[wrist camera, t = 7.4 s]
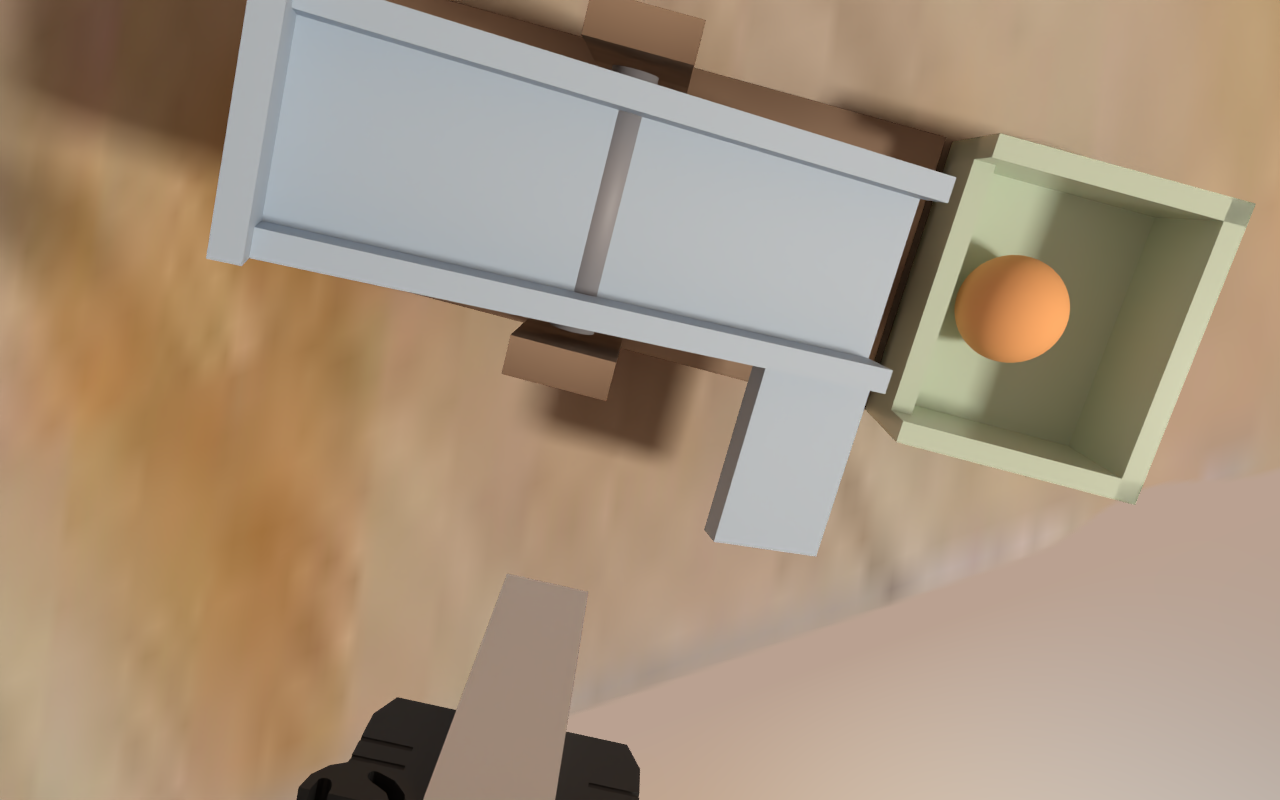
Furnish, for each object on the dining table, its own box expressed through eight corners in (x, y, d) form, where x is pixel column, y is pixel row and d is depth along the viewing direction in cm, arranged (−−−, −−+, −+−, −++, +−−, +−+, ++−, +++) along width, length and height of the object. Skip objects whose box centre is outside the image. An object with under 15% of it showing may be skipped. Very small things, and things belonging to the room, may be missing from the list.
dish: (952, 141, 36) (999, 133, 31) (1172, 202, 36) (1255, 204, 31) (865, 409, 38) (896, 441, 33) (1073, 464, 39) (1135, 504, 34)
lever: (276, -37, 25) (257, -66, 21) (922, 164, 31) (1002, 170, 27) (197, 451, 28) (166, 507, 24) (802, 542, 34) (857, 598, 30)
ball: (954, 238, 36) (1014, 249, 32) (1042, 262, 37) (1110, 277, 33) (921, 338, 37) (975, 361, 33) (1008, 359, 38) (1070, 384, 34)
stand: (359, -22, 35) (233, -111, 25) (940, 138, 36) (1052, 116, 26) (307, 262, 38) (173, 287, 27) (853, 406, 38) (924, 484, 28)
